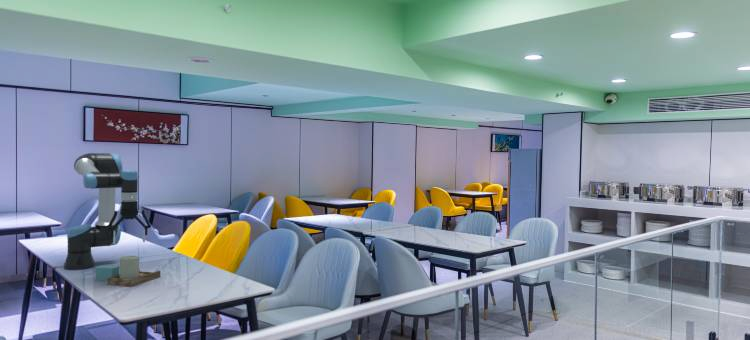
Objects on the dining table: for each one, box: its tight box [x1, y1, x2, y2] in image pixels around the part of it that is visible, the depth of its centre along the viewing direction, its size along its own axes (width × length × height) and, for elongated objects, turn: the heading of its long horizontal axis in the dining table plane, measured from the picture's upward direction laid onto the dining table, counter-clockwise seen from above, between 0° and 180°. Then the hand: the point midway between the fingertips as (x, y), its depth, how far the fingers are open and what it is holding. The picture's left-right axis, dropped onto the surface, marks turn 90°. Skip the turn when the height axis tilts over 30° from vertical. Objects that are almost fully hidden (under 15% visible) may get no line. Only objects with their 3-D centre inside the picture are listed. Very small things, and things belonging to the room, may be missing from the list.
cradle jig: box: [106, 270, 161, 288], centre depth 269 cm, size 14×22×3 cm, turn 166°
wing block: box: [95, 264, 120, 283], centre depth 269 cm, size 10×5×7 cm, turn 76°
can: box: [118, 255, 140, 280], centre depth 265 cm, size 9×9×12 cm
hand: (129, 242), depth 265 cm, fingers open, 13 cm apart
